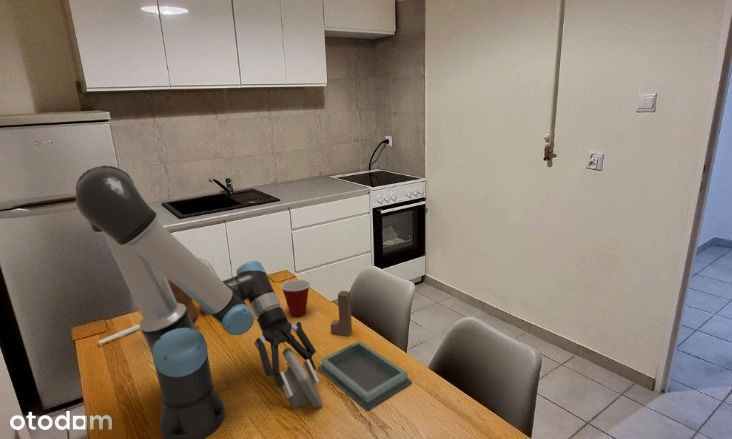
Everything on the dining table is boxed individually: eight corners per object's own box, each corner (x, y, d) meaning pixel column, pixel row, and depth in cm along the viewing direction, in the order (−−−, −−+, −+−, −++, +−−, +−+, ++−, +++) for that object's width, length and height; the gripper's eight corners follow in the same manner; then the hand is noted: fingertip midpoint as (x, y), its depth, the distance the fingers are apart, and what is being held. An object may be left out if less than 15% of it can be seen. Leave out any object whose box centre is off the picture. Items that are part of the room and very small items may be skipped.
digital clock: (323, 410, 109) (320, 374, 106) (288, 418, 107) (284, 382, 104) (313, 372, 124) (310, 340, 121) (282, 378, 122) (278, 346, 119)
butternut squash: (158, 331, 150) (145, 265, 143) (198, 320, 156) (188, 257, 149) (160, 350, 138) (146, 280, 131) (203, 338, 144) (192, 270, 137)
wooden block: (352, 331, 145) (350, 291, 141) (349, 336, 142) (346, 295, 138) (334, 329, 147) (331, 289, 142) (330, 334, 144) (328, 294, 139)
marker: (152, 323, 156) (151, 317, 156) (154, 325, 155) (153, 319, 154) (98, 345, 143) (96, 339, 142) (100, 347, 142) (99, 341, 141)
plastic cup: (315, 306, 163) (313, 277, 160) (309, 320, 153) (306, 290, 149) (288, 306, 164) (285, 277, 161) (280, 320, 154) (276, 290, 150)
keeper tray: (367, 411, 108) (366, 399, 107) (317, 369, 125) (317, 359, 124) (411, 383, 118) (411, 372, 117) (360, 348, 135) (359, 338, 134)
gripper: (296, 305, 128) (330, 377, 120) (232, 330, 116) (265, 411, 108) (303, 295, 122) (339, 369, 115) (237, 320, 111) (272, 404, 103)
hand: (303, 389), depth 112 cm, fingers closed on digital clock, 7 cm apart
